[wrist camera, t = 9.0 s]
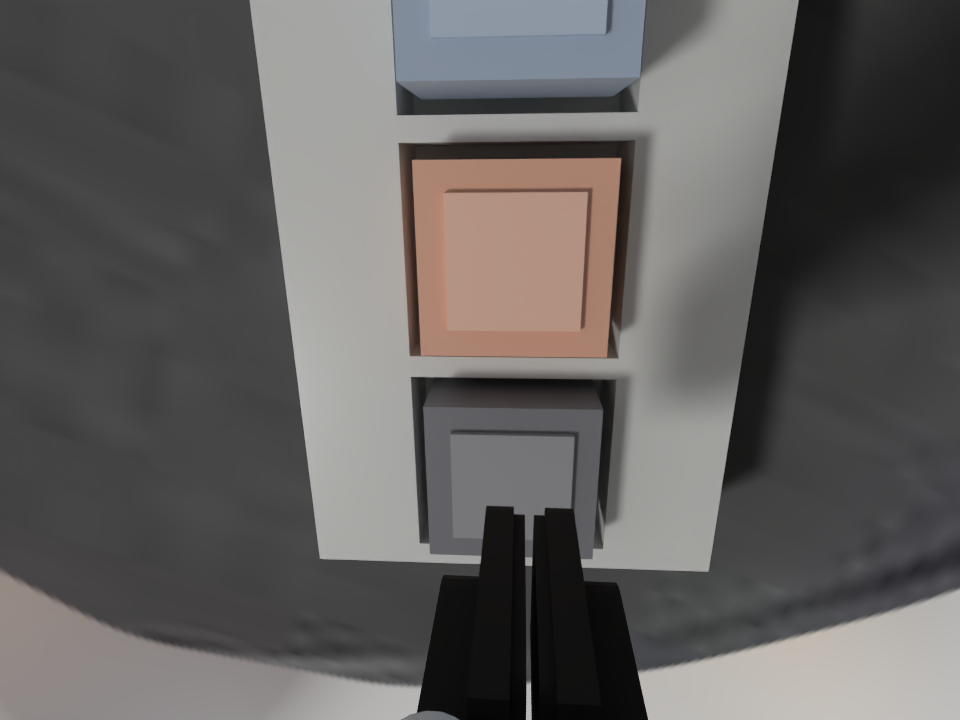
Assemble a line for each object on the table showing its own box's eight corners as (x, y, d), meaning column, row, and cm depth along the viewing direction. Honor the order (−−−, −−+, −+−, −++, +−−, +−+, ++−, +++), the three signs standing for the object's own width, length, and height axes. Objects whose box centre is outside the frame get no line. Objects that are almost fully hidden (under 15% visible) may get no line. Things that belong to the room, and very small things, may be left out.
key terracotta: (600, 159, 15) (622, 157, 12) (590, 324, 16) (608, 360, 13) (431, 160, 15) (410, 159, 12) (436, 323, 17) (420, 357, 14)
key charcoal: (588, 368, 17) (604, 412, 14) (580, 498, 18) (593, 563, 15) (438, 367, 17) (422, 409, 14) (442, 495, 19) (429, 557, 16)
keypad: (812, -517, 11) (918, -760, 8) (678, 509, 20) (708, 571, 17) (250, -474, 12) (163, -684, 9) (348, 500, 20) (320, 558, 17)
